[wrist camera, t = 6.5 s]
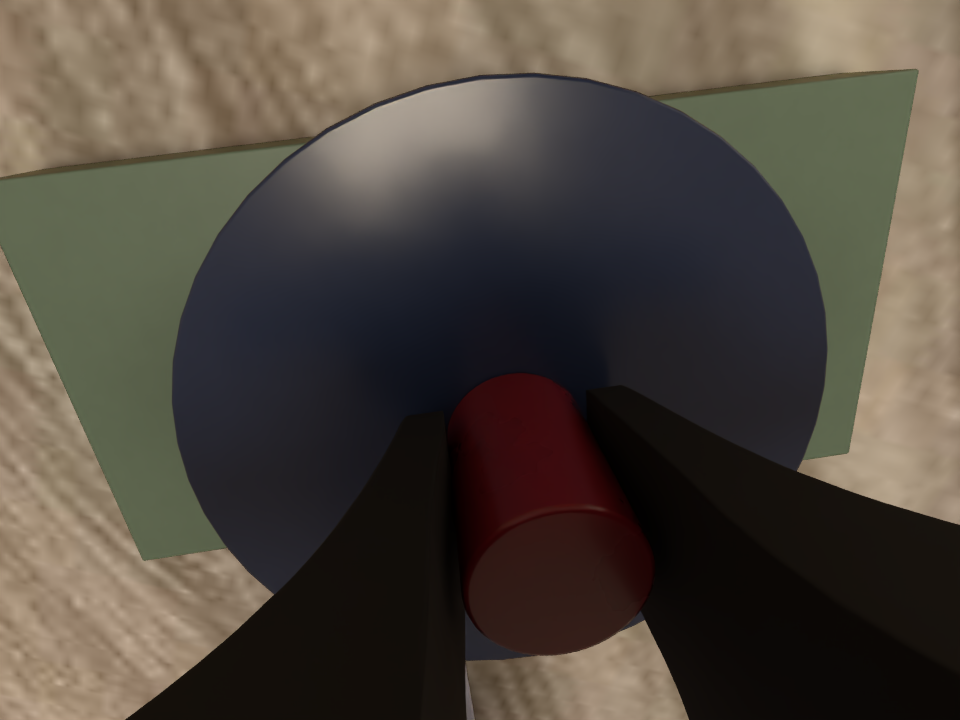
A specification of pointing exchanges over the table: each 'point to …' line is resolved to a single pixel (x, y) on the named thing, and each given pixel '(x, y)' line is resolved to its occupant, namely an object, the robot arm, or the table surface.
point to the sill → (239, 169)
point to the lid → (493, 335)
